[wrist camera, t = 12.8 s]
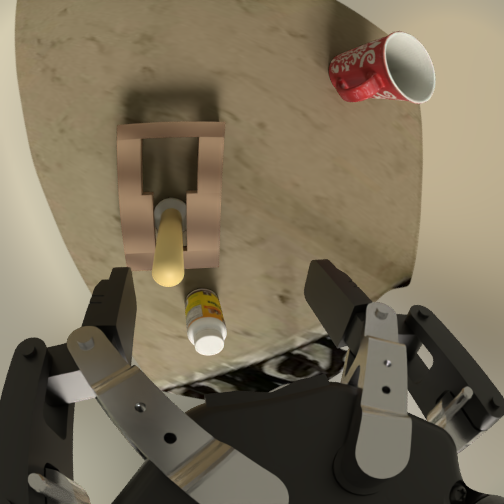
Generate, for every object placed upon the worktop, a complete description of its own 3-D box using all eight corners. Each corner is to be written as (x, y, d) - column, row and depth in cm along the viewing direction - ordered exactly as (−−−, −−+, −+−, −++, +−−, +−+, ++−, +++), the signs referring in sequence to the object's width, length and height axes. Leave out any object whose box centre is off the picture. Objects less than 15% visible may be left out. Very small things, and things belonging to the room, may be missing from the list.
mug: (353, 40, 29) (414, 24, 17) (380, 88, 33) (444, 89, 22) (292, 71, 30) (346, 52, 18) (325, 123, 35) (387, 130, 23)
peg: (152, 198, 34) (136, 247, 21) (189, 197, 35) (196, 244, 22) (154, 233, 36) (143, 298, 23) (189, 231, 37) (197, 295, 24)
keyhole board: (126, 125, 28) (117, 125, 24) (219, 122, 31) (225, 122, 27) (132, 253, 36) (127, 271, 32) (214, 250, 39) (218, 267, 35)
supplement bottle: (224, 303, 44) (237, 348, 35) (197, 319, 44) (204, 364, 35) (206, 280, 41) (216, 324, 32) (177, 297, 41) (180, 343, 33)
